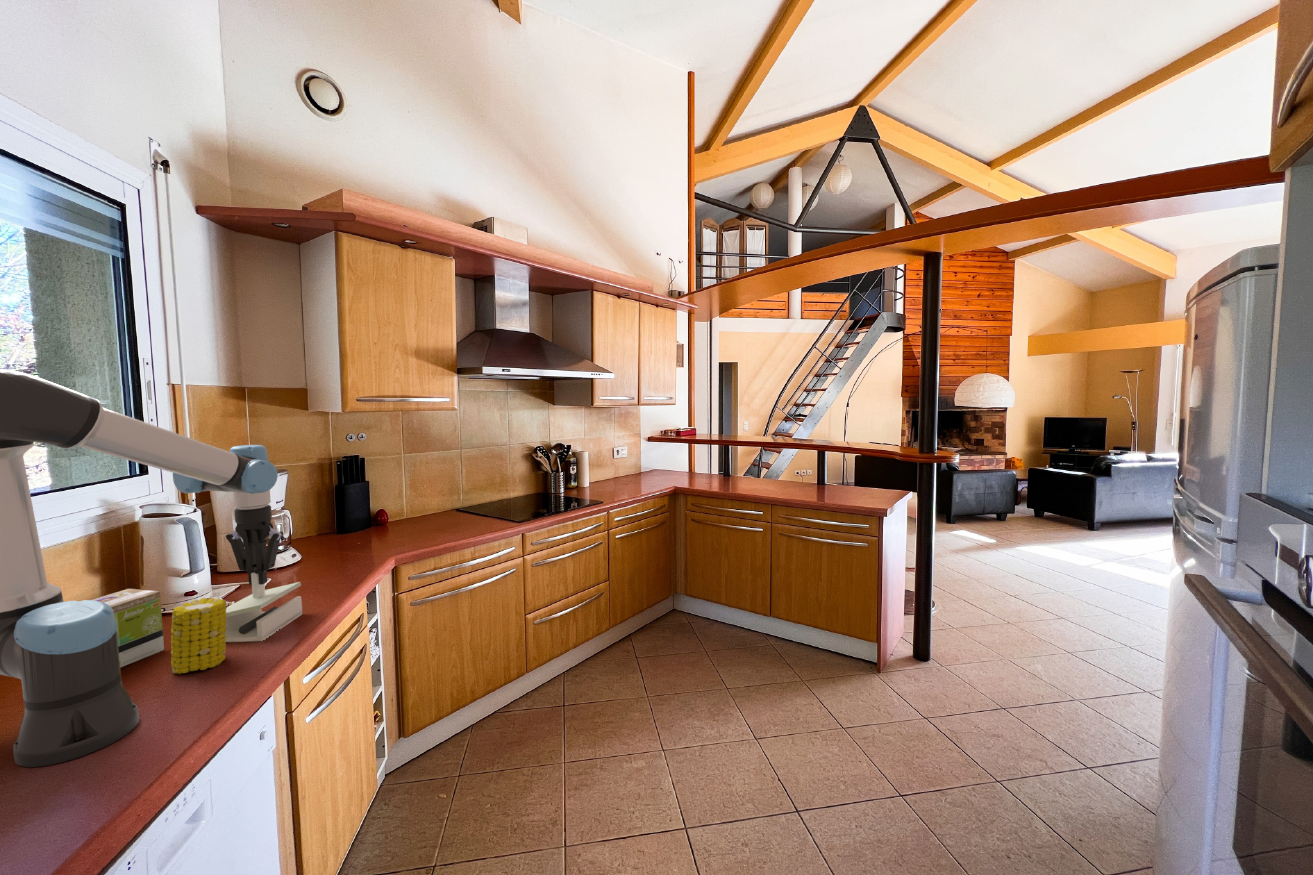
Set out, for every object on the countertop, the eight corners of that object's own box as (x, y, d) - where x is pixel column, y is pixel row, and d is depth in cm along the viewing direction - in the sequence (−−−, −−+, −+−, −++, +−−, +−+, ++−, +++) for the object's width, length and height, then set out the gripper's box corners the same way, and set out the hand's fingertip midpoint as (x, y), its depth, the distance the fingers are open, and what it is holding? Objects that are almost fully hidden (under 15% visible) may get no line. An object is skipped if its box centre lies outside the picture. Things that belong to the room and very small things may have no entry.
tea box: (90, 683, 115) (82, 615, 114) (53, 678, 117) (46, 612, 116) (166, 649, 130) (160, 589, 128) (133, 646, 132) (127, 586, 130)
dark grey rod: (247, 633, 135) (246, 626, 135) (239, 634, 135) (238, 626, 135) (281, 612, 148) (280, 605, 148) (273, 612, 148) (272, 605, 148)
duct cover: (261, 608, 133) (260, 604, 133) (210, 620, 132) (209, 616, 132) (301, 585, 149) (300, 581, 149) (255, 595, 148) (254, 592, 148)
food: (162, 681, 118) (211, 661, 128) (201, 676, 115) (248, 655, 125) (148, 612, 119) (198, 597, 128) (186, 605, 115) (234, 590, 125)
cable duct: (262, 640, 133) (261, 621, 133) (212, 642, 133) (210, 622, 133) (302, 614, 149) (301, 596, 149) (257, 615, 149) (255, 597, 148)
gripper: (288, 502, 142) (293, 590, 145) (237, 503, 142) (243, 591, 144) (269, 509, 135) (275, 601, 137) (215, 509, 134) (222, 602, 137)
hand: (259, 596), depth 141 cm, fingers closed
